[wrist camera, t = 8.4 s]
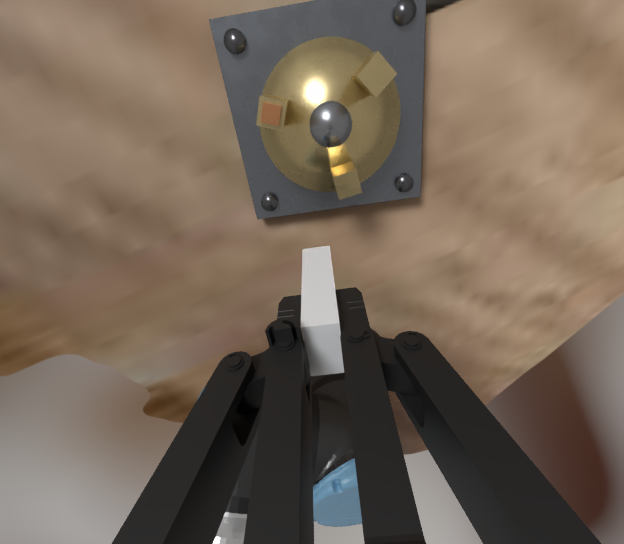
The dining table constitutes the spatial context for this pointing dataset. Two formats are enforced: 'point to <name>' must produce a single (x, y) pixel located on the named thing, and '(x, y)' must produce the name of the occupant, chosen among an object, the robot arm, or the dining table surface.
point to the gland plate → (295, 31)
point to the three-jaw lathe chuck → (330, 114)
